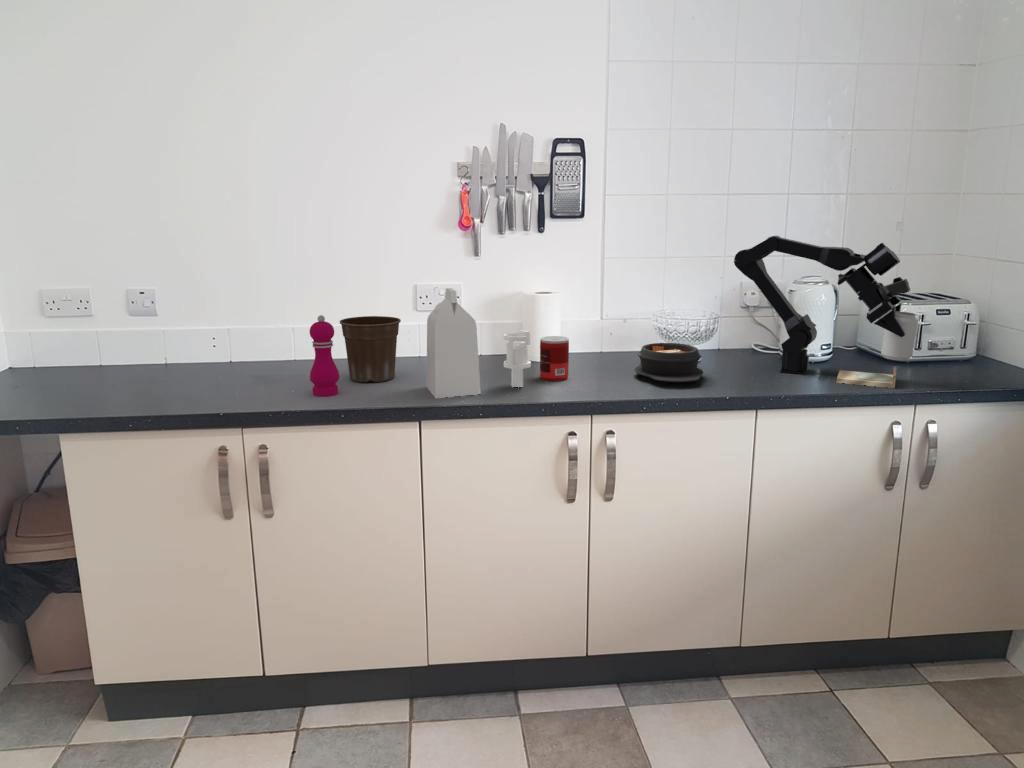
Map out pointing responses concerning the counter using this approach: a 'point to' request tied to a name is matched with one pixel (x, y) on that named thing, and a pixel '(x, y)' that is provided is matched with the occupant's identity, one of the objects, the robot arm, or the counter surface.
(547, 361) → the canned food
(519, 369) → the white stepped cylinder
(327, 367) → the pepper mill
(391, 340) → the plant pot
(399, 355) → the counter surface
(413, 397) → the counter surface
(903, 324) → the can
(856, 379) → the rack board
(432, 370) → the milk
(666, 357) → the casserole
